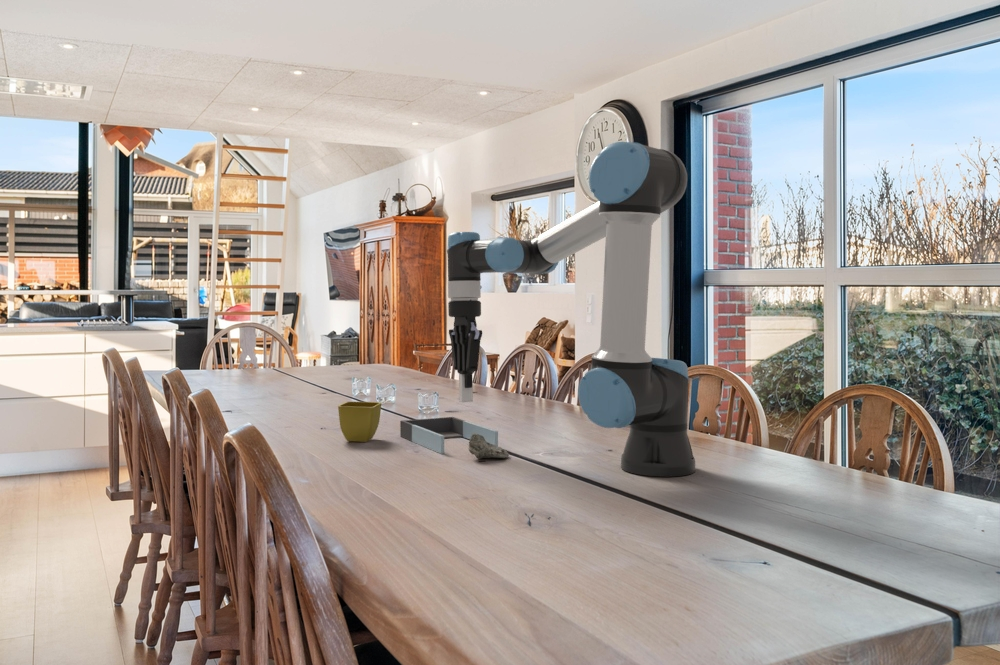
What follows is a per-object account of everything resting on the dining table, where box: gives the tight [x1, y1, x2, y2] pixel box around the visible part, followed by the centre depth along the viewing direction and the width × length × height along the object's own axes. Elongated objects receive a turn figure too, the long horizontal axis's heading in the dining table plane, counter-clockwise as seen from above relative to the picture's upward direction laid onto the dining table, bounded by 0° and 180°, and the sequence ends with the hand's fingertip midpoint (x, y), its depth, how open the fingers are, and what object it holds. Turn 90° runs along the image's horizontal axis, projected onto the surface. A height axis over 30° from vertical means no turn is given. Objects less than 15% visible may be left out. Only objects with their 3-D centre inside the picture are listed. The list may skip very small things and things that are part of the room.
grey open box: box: [399, 416, 466, 442], centre depth 207 cm, size 8×15×4 cm, turn 119°
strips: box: [411, 420, 499, 455], centre depth 196 cm, size 17×15×4 cm
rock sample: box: [468, 433, 510, 460], centre depth 181 cm, size 10×8×9 cm
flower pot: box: [337, 401, 383, 443], centre depth 201 cm, size 9×9×9 cm
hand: (466, 401), depth 190 cm, fingers closed
